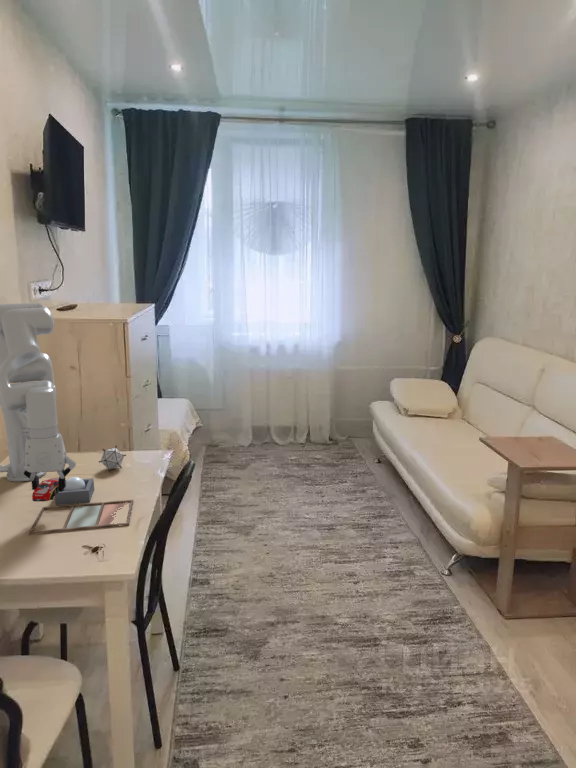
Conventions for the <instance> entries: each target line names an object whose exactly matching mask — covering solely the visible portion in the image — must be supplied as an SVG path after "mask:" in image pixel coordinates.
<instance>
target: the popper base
mask: <svg viewBox="0 0 576 768" xmlns="http://www.w3.org/2000/svg"><path fill="white" fill-rule="evenodd" d="M81 479H82V480H83V481H84V482H85V489H82V490H69V491H64V489H63V491H62V492H60V491H59V492H58V493H57V494H56V495H55V496H54V504H55V505H54V506H63V505H74V504H86V503H91V500H92V497H93V495H94V491H95V481H94V478H93V477H92V478H89V477H88V478H81ZM65 480H66V481H67V480H68V479H65Z"/></svg>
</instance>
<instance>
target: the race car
mask: <svg viewBox="0 0 576 768" xmlns="http://www.w3.org/2000/svg"><path fill="white" fill-rule="evenodd" d="M58 479H59V477H51V478H48V479H45V480H42V482H39V486H38V487H37V488H36V489H35V491H34V490H33V492H32V496H31V498H32V499H31V500H32V502H48V501H52V500H54V499H55V495H56V494H57V493H58V492H59V481H58Z"/></svg>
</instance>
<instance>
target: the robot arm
mask: <svg viewBox="0 0 576 768" xmlns="http://www.w3.org/2000/svg"><path fill="white" fill-rule="evenodd" d="M54 330H55V320H54V316H53V314H52V312H51V310H50V309H49V308H48V306H46V305H44V304H43V303H39V302H29V303H1V304H0V409H1V413H2V417H3V420H4V426H5V433H6V441H7V442H6V443H7V451H8V459H9V463H7V464H0V473H6V477H5V478H6V480H7V481H11V482H16V483H17V482H20V483H21V482H28V481H30V482H31V489H32V491H33V492H34V491H35V489H36V488H37V487H38V486H39V484H40V478H42V477H44V476H45V475H46V474H47V473H51V472H53V473H55V472H56V473H57V475H58V476H59V477H58V478H59V479H58V481H59V491H60V492H62V491H63V489H64V488H65V487H66V480H67V479H66V476H68V474H70V473H71V471H72V470H73V469H74V468H75V467H76V465H77V462H75V460H73V459H72V458H70V457H69V455H67V453H66V452H67V451H66V447H65V443H64V439H63V436H62V433H60V432H59V423H58V422H59V421H58V411H57V410H58V409H57V396H58V394H57V392H58V391H57V388H56V384H55V375H54V369H53V368H54V367H53V362H52V360H51V358H50V356H49V354H47V353H46V352H41V347H40V345H39V341H38V337H37V336H45V335H51V334H52V333H53V332H54ZM66 465H68V466H67V467H66ZM65 467H66V468H65Z"/></svg>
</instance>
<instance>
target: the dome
mask: <svg viewBox="0 0 576 768" xmlns="http://www.w3.org/2000/svg"><path fill="white" fill-rule="evenodd" d="M82 479H83V478H81V477H78V476H71V477H70V478H68V479H66V480H67V481H66V487H65V488H64V491H69V490H82V489H85V482H84V481H83V480H82Z"/></svg>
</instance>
